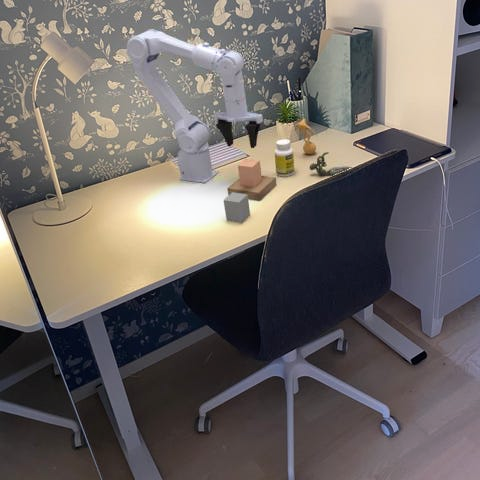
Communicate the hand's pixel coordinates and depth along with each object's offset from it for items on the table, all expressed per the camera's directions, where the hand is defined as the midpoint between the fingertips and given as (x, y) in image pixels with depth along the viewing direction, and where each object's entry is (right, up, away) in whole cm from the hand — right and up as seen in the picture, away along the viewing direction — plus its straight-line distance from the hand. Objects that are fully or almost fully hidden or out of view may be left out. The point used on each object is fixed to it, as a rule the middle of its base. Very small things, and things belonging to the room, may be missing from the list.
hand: (242, 145), depth 154 cm
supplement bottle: (+13, -7, +6) cm, 16 cm away
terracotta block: (+2, -11, -3) cm, 11 cm away
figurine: (+21, 0, +15) cm, 26 cm away
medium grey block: (-1, -21, -14) cm, 25 cm away
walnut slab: (+3, -13, -1) cm, 14 cm away
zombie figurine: (+27, -8, +1) cm, 28 cm away
